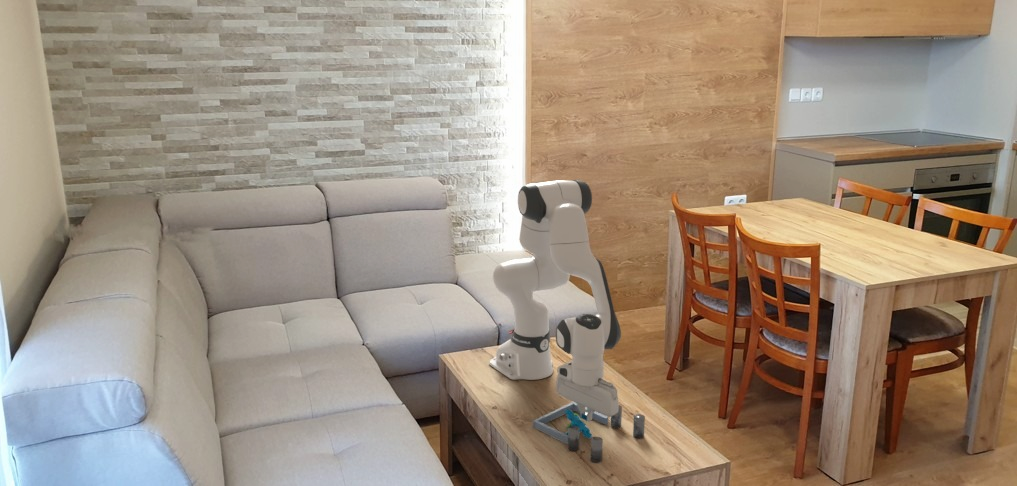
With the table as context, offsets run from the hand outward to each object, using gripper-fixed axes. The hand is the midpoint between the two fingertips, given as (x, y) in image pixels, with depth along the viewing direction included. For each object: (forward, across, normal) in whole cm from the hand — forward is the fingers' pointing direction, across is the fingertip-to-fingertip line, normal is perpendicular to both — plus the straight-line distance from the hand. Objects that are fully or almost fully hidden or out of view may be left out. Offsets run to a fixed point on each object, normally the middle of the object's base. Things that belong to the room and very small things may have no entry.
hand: (586, 419), depth 217 cm
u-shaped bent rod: (+4, +6, 0) cm, 7 cm away
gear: (+4, +1, +3) cm, 5 cm away
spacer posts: (+4, -8, 0) cm, 9 cm away
